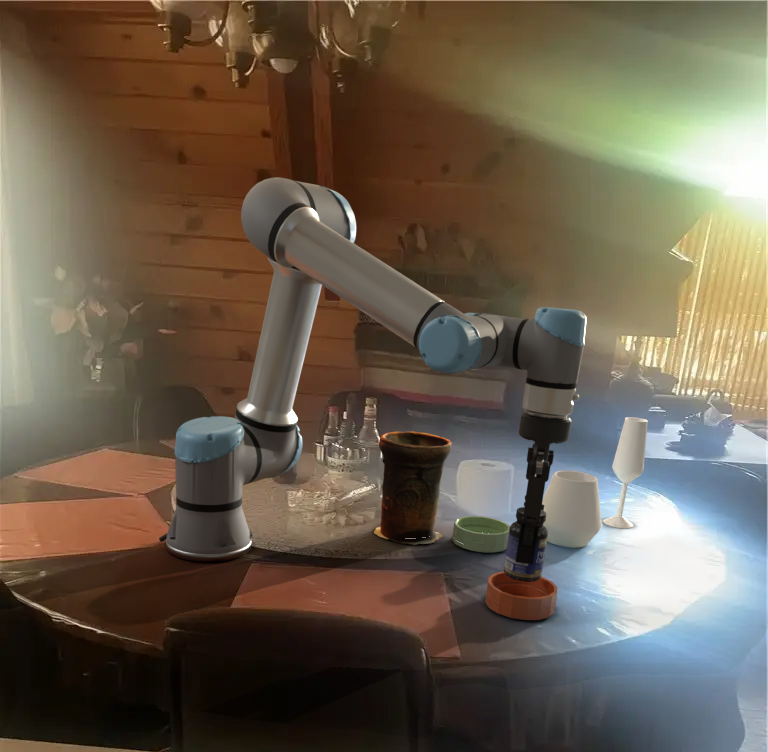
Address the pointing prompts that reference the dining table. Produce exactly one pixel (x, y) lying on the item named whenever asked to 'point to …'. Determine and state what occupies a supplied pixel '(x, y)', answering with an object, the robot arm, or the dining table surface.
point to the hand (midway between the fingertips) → (524, 554)
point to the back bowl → (481, 534)
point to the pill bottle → (511, 567)
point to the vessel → (411, 485)
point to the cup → (572, 508)
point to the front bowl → (521, 597)
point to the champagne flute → (628, 462)
